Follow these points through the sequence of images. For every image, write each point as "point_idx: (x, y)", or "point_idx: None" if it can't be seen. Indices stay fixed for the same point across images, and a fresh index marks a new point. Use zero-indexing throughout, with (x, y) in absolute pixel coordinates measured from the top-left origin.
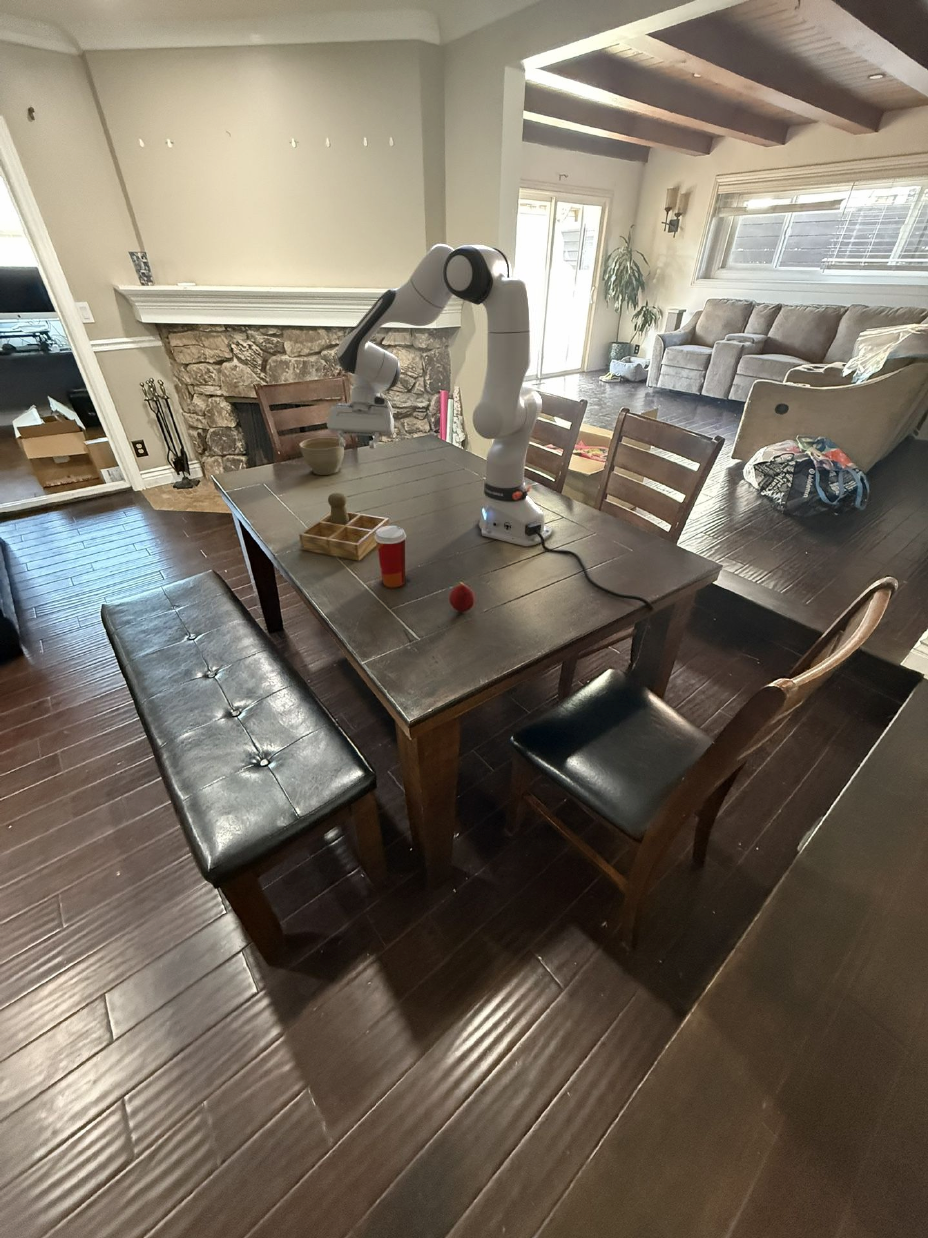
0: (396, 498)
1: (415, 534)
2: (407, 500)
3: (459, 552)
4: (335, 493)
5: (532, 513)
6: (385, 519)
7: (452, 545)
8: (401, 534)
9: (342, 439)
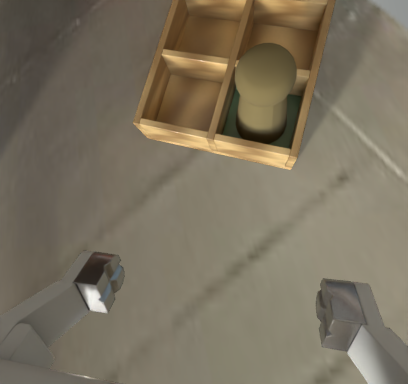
0: (165, 367)
1: (93, 141)
2: (131, 351)
3: (11, 81)
4: (272, 68)
5: None
6: (139, 115)
7: (22, 105)
8: None
9: (349, 316)
